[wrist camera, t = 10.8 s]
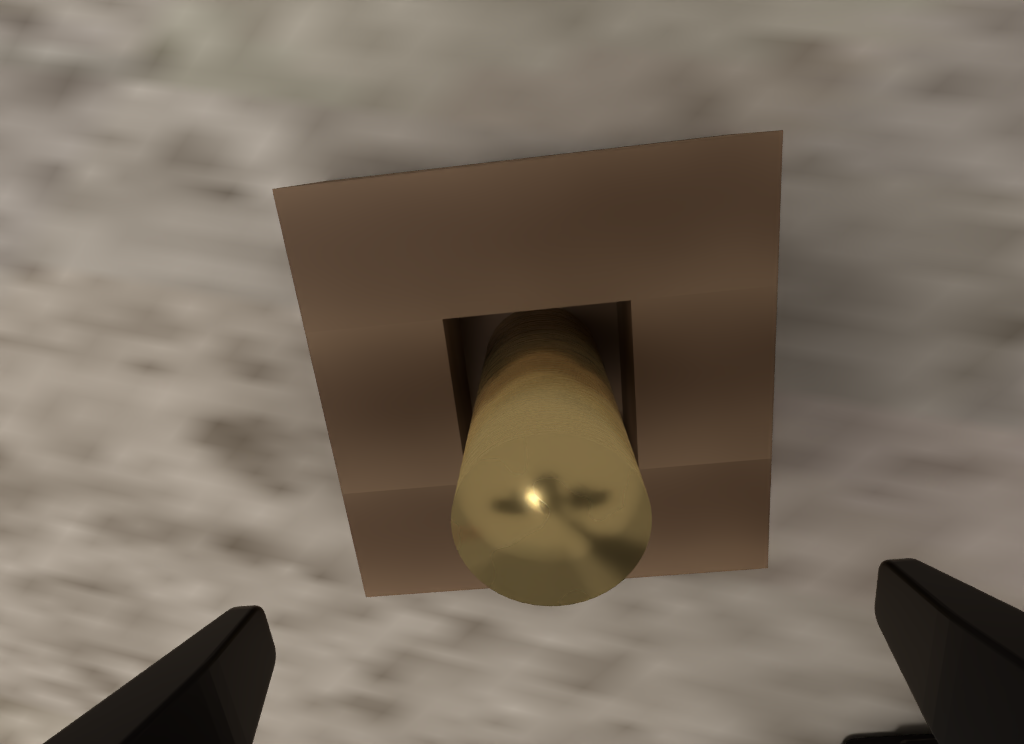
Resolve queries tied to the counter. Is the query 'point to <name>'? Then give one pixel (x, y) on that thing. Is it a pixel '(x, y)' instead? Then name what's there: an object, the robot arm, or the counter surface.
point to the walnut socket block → (542, 285)
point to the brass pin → (548, 469)
